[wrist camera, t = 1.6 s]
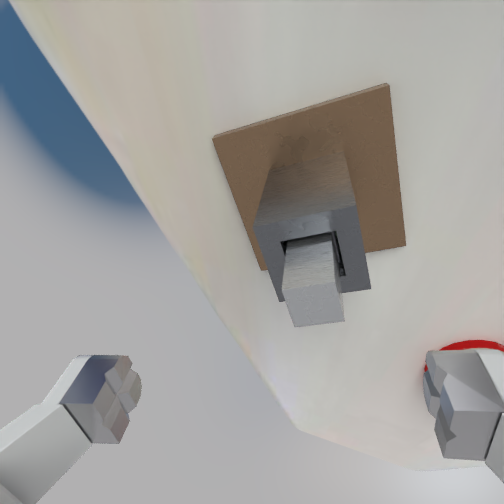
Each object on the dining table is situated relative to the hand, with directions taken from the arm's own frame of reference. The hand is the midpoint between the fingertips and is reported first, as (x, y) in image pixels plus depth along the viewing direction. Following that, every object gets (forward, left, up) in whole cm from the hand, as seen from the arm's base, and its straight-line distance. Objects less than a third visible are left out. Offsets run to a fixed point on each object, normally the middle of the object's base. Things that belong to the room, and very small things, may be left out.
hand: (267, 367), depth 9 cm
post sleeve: (+1, +11, -36) cm, 37 cm away
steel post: (+1, +11, -34) cm, 36 cm away
